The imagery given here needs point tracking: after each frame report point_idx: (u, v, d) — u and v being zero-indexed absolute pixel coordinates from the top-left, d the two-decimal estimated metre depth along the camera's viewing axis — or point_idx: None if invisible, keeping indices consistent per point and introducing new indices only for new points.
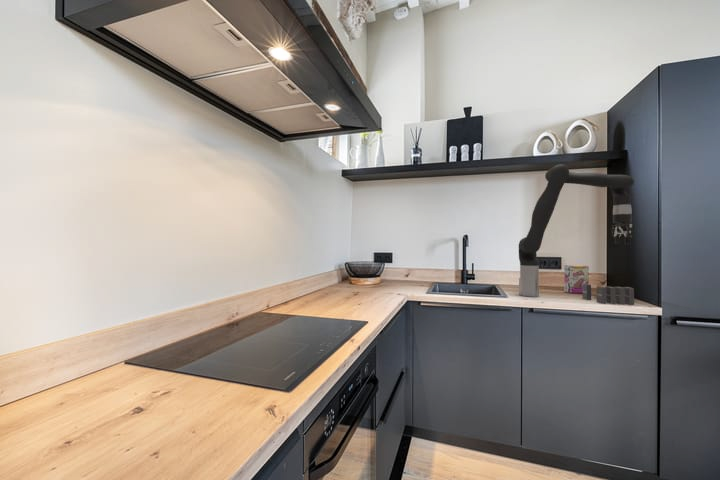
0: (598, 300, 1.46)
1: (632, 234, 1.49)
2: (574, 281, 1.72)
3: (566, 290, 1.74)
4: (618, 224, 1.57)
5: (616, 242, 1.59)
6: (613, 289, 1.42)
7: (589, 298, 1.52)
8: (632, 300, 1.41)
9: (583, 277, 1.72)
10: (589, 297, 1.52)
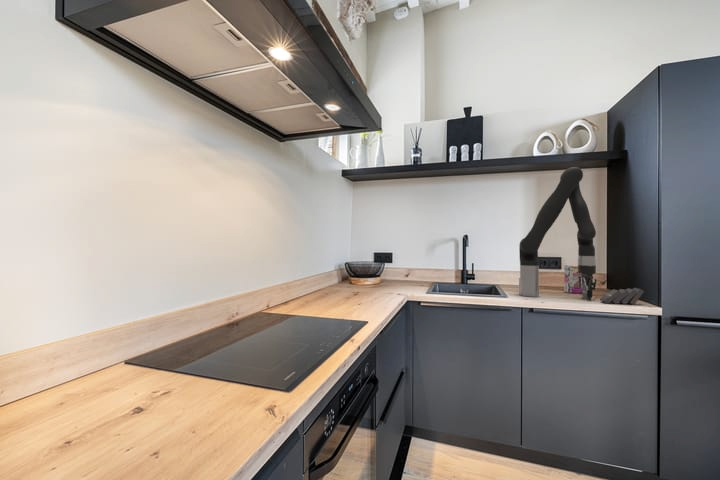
0: (602, 298, 1.46)
1: (593, 288, 1.49)
2: (574, 281, 1.72)
3: (566, 290, 1.74)
4: (583, 274, 1.56)
5: None
6: (626, 293, 1.41)
7: (589, 298, 1.52)
8: (635, 300, 1.40)
9: None
10: None
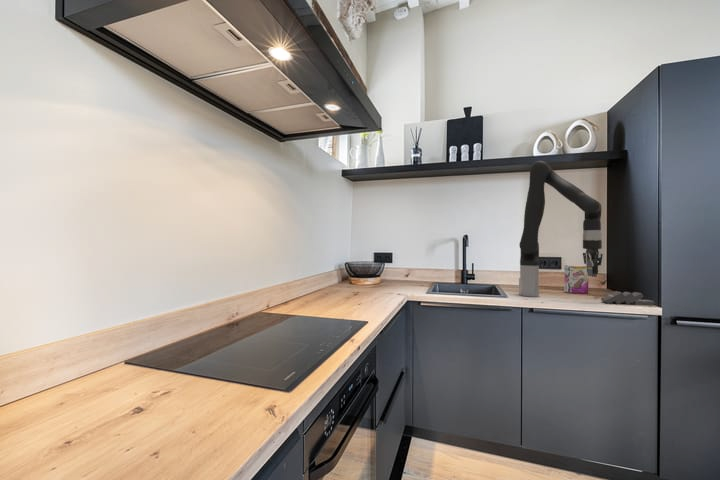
0: (604, 298, 1.46)
1: (599, 264, 1.41)
2: (574, 281, 1.72)
3: (566, 290, 1.74)
4: (588, 250, 1.48)
5: None
6: (631, 296, 1.41)
7: (595, 275, 1.44)
8: (641, 303, 1.40)
9: (583, 277, 1.72)
10: (595, 274, 1.44)
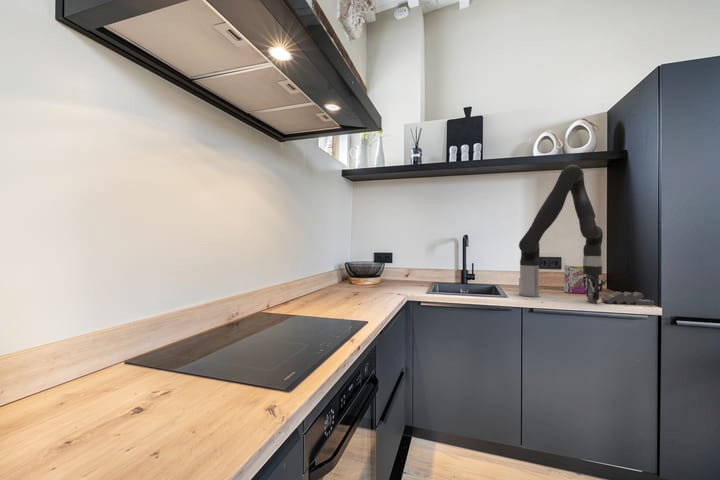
0: (604, 298, 1.46)
1: (600, 290, 1.40)
2: (574, 281, 1.72)
3: (566, 290, 1.74)
4: (588, 275, 1.48)
5: None
6: (631, 295, 1.41)
7: (595, 301, 1.44)
8: (641, 303, 1.40)
9: None
10: (595, 300, 1.44)
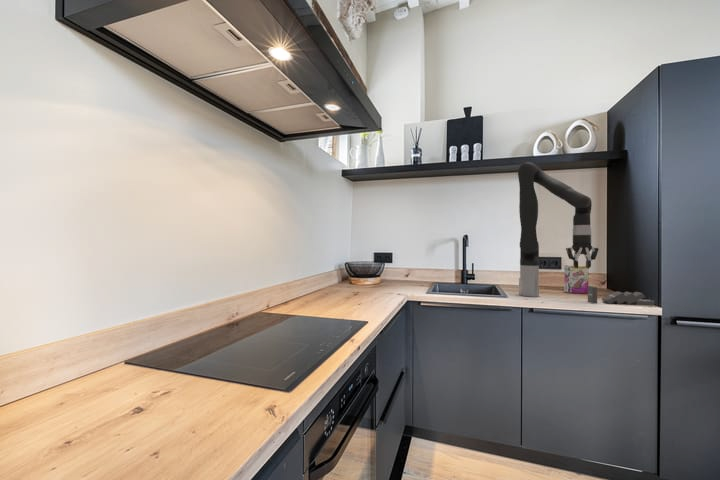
0: (605, 298, 1.46)
1: (570, 258, 1.48)
2: (574, 281, 1.72)
3: (566, 290, 1.74)
4: None
5: (586, 266, 1.48)
6: (632, 295, 1.41)
7: (595, 301, 1.44)
8: (642, 303, 1.40)
9: (583, 277, 1.72)
10: (595, 300, 1.44)
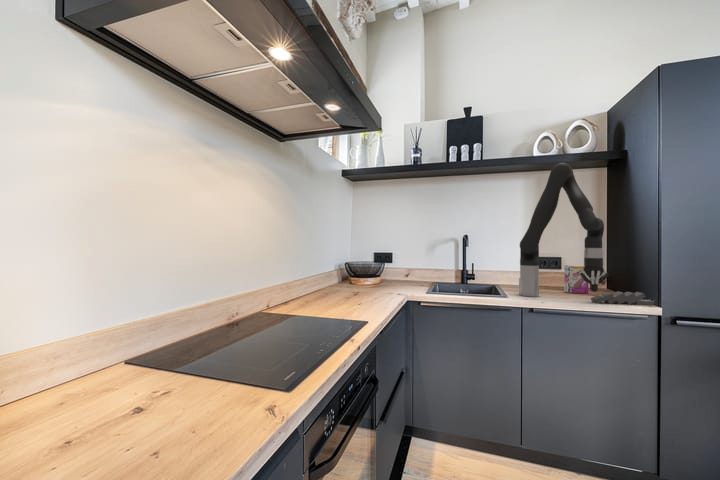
0: None
1: (586, 281, 1.47)
2: (574, 281, 1.72)
3: (566, 290, 1.74)
4: None
5: None
6: (633, 296, 1.41)
7: (598, 301, 1.44)
8: (643, 303, 1.40)
9: None
10: (599, 300, 1.44)
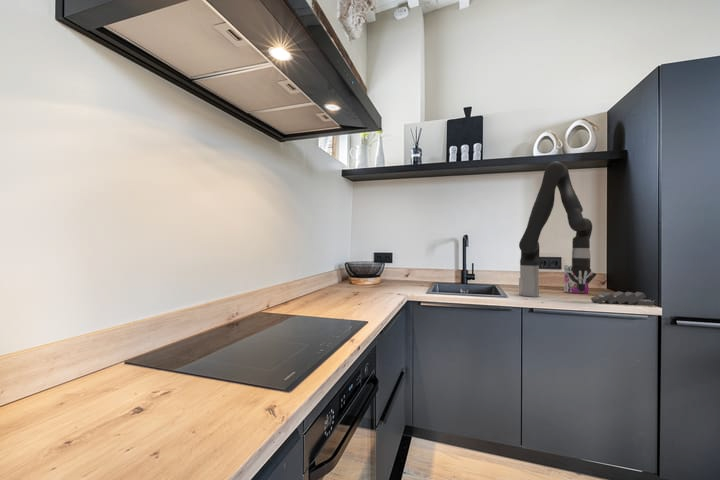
0: None
1: (574, 281, 1.48)
2: None
3: (566, 290, 1.74)
4: None
5: None
6: (633, 296, 1.41)
7: (598, 301, 1.44)
8: (643, 303, 1.40)
9: None
10: (599, 301, 1.44)
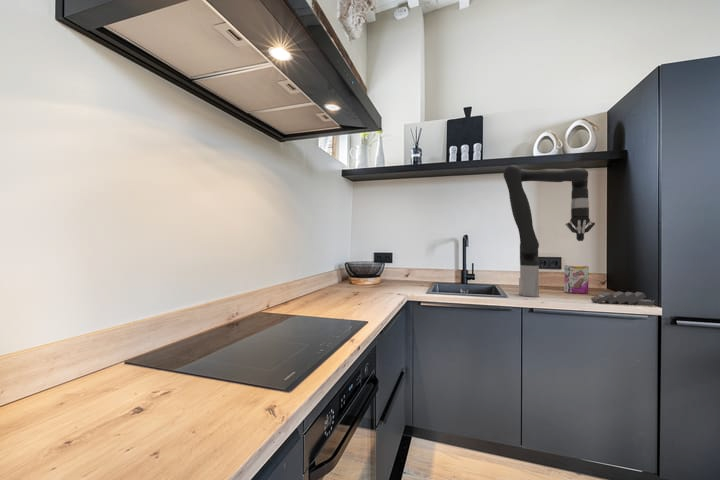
0: None
1: (573, 231, 1.52)
2: (574, 281, 1.72)
3: (566, 290, 1.74)
4: None
5: None
6: (633, 296, 1.41)
7: (598, 301, 1.44)
8: (643, 303, 1.40)
9: (583, 277, 1.72)
10: (599, 301, 1.44)
